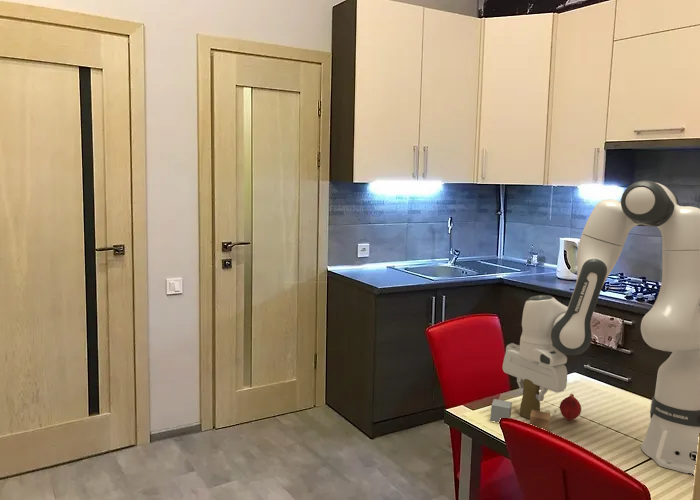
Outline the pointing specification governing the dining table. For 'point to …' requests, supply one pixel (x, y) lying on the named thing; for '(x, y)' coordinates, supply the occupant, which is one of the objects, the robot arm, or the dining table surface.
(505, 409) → the slate block
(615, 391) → the dining table surface
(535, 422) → the walnut block
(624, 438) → the dining table surface
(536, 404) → the cork
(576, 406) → the onion
